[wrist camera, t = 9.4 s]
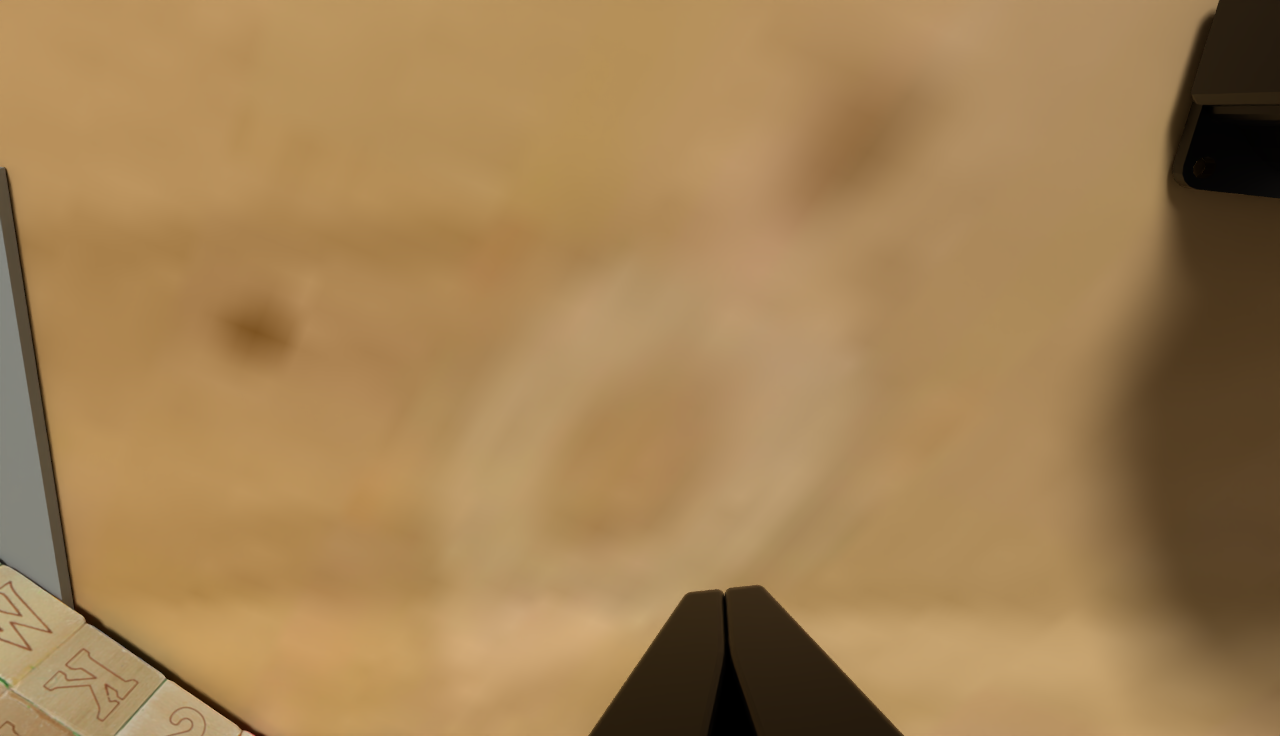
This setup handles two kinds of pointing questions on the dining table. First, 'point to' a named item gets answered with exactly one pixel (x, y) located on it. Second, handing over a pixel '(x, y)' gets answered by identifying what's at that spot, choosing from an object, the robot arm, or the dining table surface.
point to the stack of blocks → (83, 677)
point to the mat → (24, 437)
